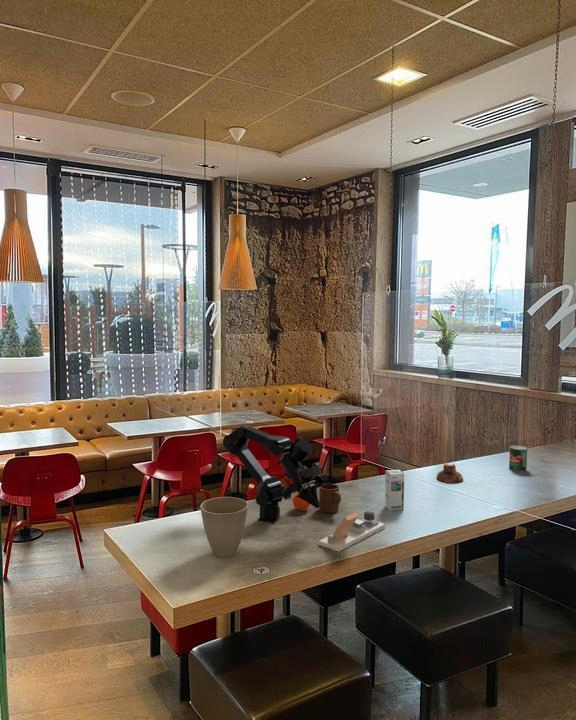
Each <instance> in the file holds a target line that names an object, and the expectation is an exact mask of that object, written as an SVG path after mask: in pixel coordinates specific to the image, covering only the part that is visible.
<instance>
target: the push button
mask: <svg viewBox="0 0 576 720" xmlns="http://www.w3.org/2000/svg"><path fill="white" fill-rule="evenodd" d="M364 519H365V520H368V521H372V520H374V521H375V512H373V511H368V510H367V511H364V513H363V520H364Z"/></svg>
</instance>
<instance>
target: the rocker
mask: <svg viewBox="0 0 576 720" xmlns="http://www.w3.org/2000/svg"><path fill="white" fill-rule="evenodd" d="M354 525H355V526H357V527H360V526H362V525H364V522H363V521H362V520H361V519H359V518H357V519H356V521H355V522H354V524H353V526H354Z"/></svg>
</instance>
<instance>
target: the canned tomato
mask: <svg viewBox="0 0 576 720" xmlns="http://www.w3.org/2000/svg"><path fill="white" fill-rule="evenodd" d="M508 463H509V464H508V470H509V471H513V472H516V471H518V472H517V473H522V472H521V471H525V472H527V471H526V470H527V465H528V447H527V446H524V445H515V444H514V445H509V462H508ZM519 471H520V472H519Z"/></svg>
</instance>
